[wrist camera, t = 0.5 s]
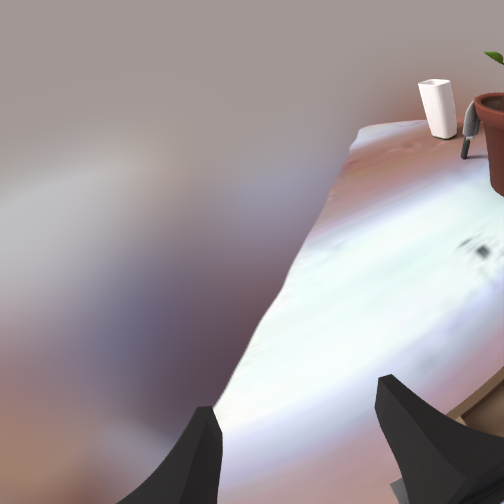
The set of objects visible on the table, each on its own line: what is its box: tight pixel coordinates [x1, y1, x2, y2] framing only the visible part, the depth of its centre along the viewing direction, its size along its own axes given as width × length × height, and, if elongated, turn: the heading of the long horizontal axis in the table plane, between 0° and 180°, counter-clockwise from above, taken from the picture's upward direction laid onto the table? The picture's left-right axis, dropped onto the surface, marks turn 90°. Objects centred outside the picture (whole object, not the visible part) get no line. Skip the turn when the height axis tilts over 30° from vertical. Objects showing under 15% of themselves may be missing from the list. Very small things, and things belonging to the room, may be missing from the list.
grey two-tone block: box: [390, 477, 409, 504], centre depth 14 cm, size 4×5×7 cm
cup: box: [418, 79, 456, 139], centre depth 57 cm, size 7×7×15 cm
